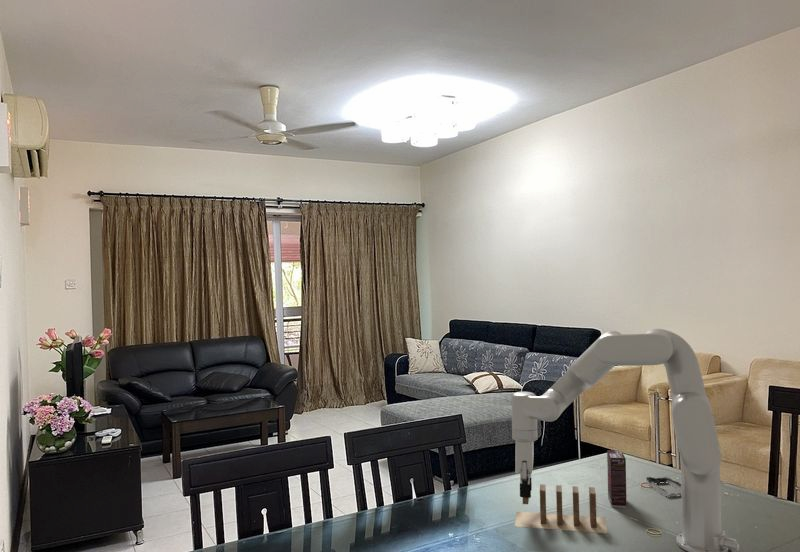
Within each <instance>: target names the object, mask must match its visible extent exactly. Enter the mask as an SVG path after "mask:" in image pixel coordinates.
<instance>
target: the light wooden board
mask: <svg viewBox="0 0 800 552" xmlns="http://www.w3.org/2000/svg"><path fill="white" fill-rule="evenodd" d="M562 515H563V525H557V513H546V524H541V520H540V512H527V511H516V515H515V521H514V527H518V528H529V529H530V528H531V529H545V530H557V531H558V530H559V531H571V532H572V531H573V532H584V533H585V532H586V533H596V534H597V533H598V534H601V533H602V534H608V529H607V528H608V527H607V524H606V520H605V517H600V516H596V521H597V528H591V525H590V515H589V516H585V515H579V522H580V527H576V526H574V521H573V514H562Z"/></svg>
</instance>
